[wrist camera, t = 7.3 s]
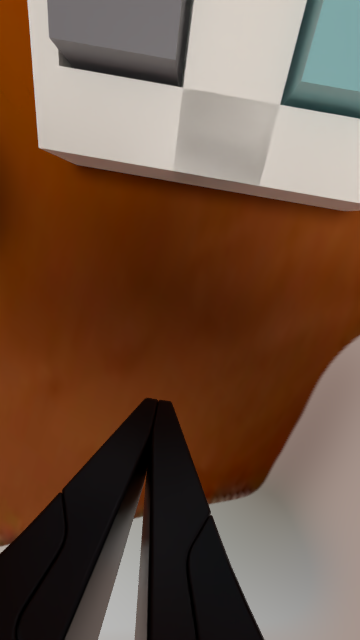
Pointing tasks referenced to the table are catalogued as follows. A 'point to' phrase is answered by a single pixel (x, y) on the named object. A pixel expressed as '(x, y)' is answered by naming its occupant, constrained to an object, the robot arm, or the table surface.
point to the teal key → (326, 59)
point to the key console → (203, 111)
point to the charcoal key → (123, 37)
